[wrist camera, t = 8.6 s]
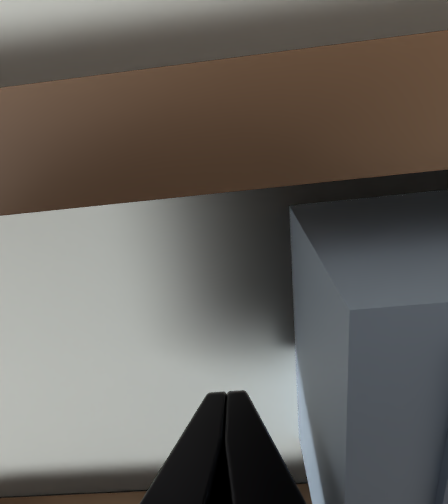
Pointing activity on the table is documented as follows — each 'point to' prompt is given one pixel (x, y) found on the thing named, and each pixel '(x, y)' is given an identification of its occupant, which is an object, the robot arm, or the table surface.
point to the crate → (372, 347)
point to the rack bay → (224, 134)
